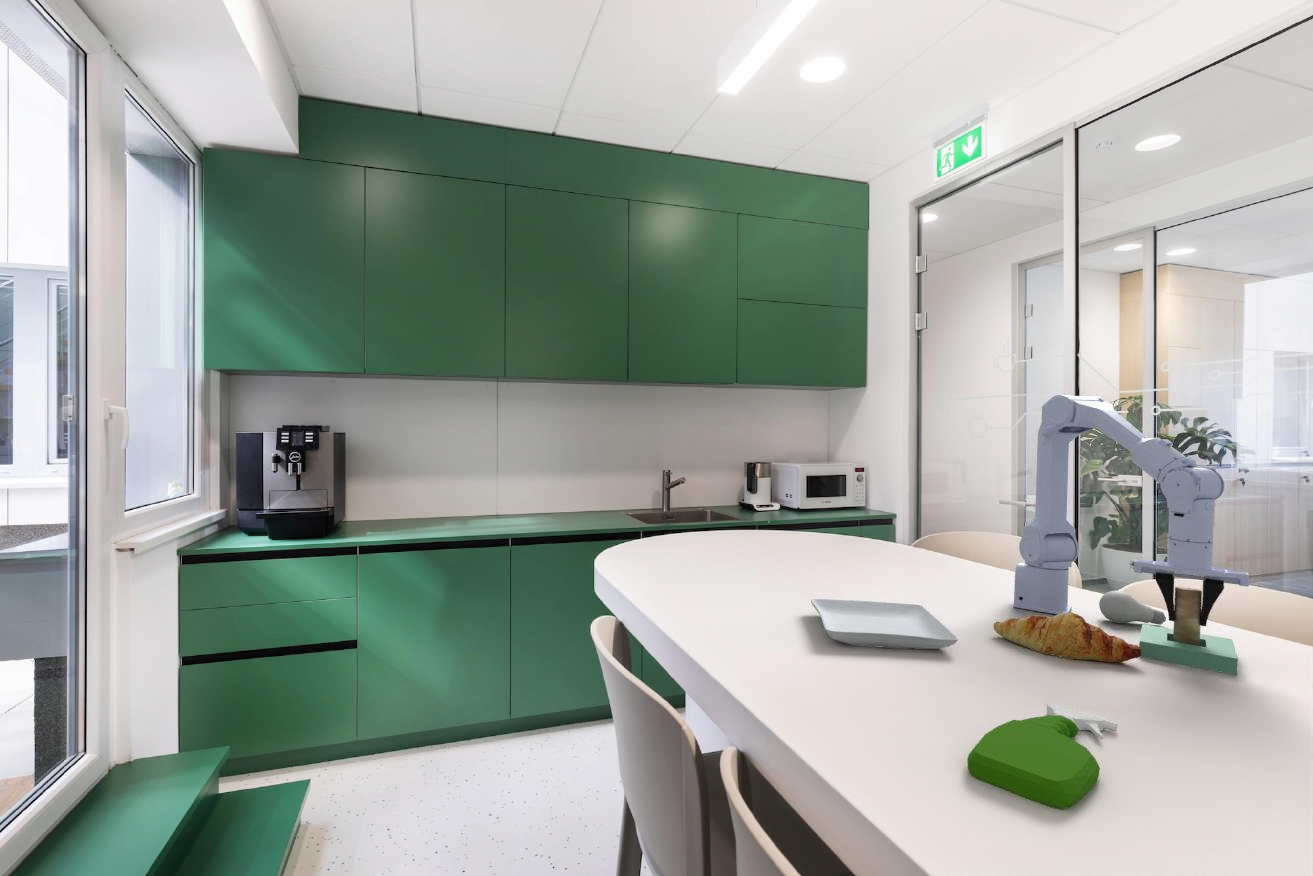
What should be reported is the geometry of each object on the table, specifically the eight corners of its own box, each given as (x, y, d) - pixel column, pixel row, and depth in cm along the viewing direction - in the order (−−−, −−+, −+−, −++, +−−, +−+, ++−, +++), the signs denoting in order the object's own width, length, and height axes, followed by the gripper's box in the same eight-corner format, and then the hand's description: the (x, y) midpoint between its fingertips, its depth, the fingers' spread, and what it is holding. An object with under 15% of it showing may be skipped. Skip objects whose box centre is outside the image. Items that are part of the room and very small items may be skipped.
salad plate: (920, 619, 126) (921, 602, 126) (960, 659, 104) (961, 637, 104) (809, 614, 128) (809, 596, 128) (826, 651, 107) (826, 630, 107)
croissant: (988, 660, 113) (983, 624, 110) (1001, 621, 120) (996, 587, 117) (1139, 691, 100) (1138, 651, 97) (1144, 646, 106) (1143, 608, 103)
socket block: (1138, 656, 106) (1139, 640, 106) (1141, 638, 116) (1142, 624, 116) (1237, 674, 99) (1237, 658, 99) (1231, 654, 108) (1232, 639, 108)
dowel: (1173, 644, 107) (1175, 589, 107) (1172, 638, 110) (1174, 585, 109) (1200, 648, 105) (1202, 593, 105) (1198, 643, 108) (1200, 589, 107)
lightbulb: (1161, 600, 126) (1098, 583, 129) (1177, 607, 120) (1111, 589, 123) (1153, 630, 126) (1090, 613, 129) (1169, 639, 120) (1103, 621, 123)
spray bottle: (957, 775, 69) (1031, 712, 86) (1075, 822, 61) (1131, 742, 78) (957, 748, 69) (1032, 690, 86) (1076, 791, 61) (1132, 717, 78)
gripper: (1134, 537, 108) (1131, 618, 109) (1252, 549, 99) (1248, 637, 100) (1136, 532, 114) (1133, 609, 114) (1247, 543, 105) (1244, 627, 105)
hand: (1187, 622), depth 107 cm, fingers closed on dowel, 3 cm apart
